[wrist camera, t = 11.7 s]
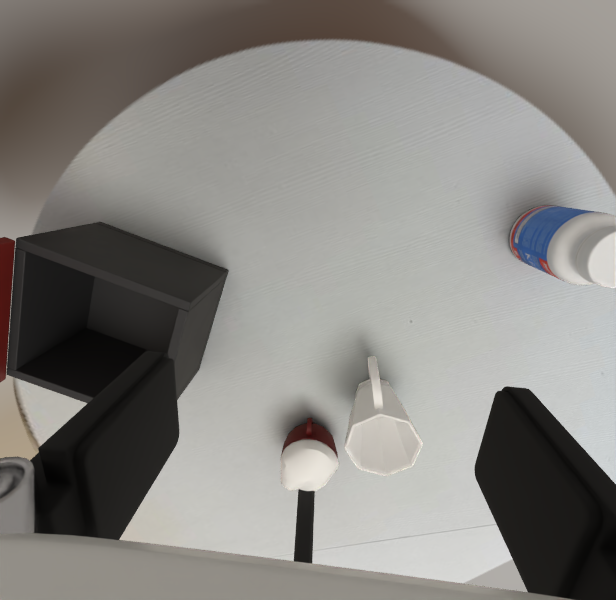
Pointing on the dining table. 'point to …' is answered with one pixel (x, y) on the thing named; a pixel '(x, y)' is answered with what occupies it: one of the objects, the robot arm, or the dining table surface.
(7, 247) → the bin lid
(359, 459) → the cup
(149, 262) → the dark open-top bin
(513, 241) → the pill bottle
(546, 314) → the dining table surface
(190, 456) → the dining table surface
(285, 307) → the dining table surface
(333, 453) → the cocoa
